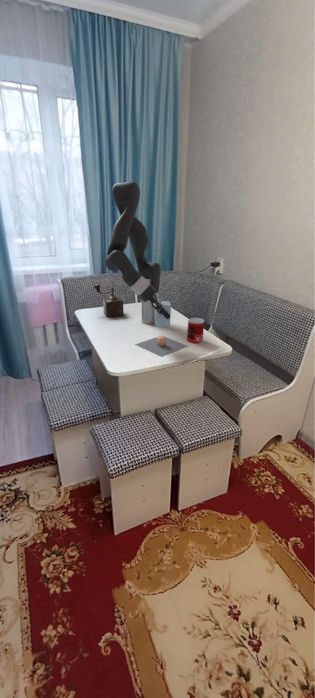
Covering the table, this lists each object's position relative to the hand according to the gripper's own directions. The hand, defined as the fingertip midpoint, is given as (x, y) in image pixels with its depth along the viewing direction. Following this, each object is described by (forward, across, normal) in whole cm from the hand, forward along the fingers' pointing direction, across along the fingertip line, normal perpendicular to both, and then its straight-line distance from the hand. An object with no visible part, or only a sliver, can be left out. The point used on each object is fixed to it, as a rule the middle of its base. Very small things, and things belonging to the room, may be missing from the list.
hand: (168, 315), depth 144 cm
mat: (+9, 0, +13) cm, 16 cm away
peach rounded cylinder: (+9, 0, +12) cm, 15 cm away
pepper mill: (-12, +48, +34) cm, 59 cm away
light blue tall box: (+1, 0, +5) cm, 5 cm away
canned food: (+21, +7, +1) cm, 22 cm away
